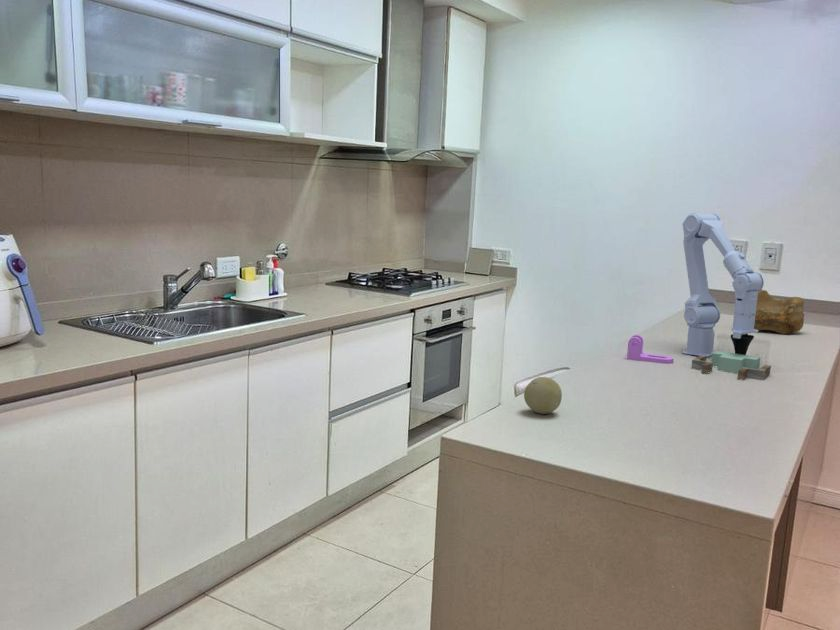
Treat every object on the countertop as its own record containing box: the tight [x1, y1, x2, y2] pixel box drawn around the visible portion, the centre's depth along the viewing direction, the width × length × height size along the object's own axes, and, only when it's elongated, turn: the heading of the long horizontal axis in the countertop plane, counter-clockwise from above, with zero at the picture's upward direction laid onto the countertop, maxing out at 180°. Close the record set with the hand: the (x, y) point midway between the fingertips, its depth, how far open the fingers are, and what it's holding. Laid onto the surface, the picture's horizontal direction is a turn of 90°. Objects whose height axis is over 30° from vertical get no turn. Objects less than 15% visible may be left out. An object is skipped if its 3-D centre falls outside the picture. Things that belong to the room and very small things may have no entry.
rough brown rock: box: [754, 288, 805, 335], centre depth 268 cm, size 23×17×15 cm
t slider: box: [710, 350, 761, 374], centre depth 204 cm, size 9×12×4 cm
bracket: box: [626, 334, 674, 365], centre depth 212 cm, size 13×6×7 cm, turn 66°
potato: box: [523, 376, 563, 415], centre depth 156 cm, size 8×8×8 cm
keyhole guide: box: [691, 355, 772, 381], centre depth 200 cm, size 13×19×2 cm
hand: (739, 359), depth 209 cm, fingers closed
